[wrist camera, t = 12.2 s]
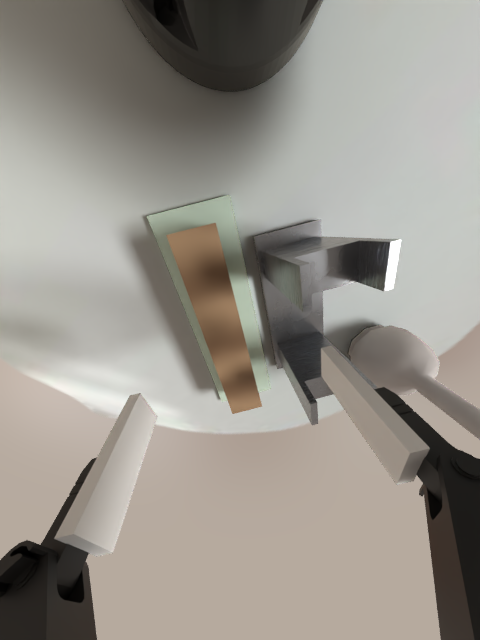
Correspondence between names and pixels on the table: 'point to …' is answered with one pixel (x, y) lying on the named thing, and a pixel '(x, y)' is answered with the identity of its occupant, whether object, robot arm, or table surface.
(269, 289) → the rack
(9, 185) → the table surface
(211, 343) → the rail
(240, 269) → the mat
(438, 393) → the potion bottle
